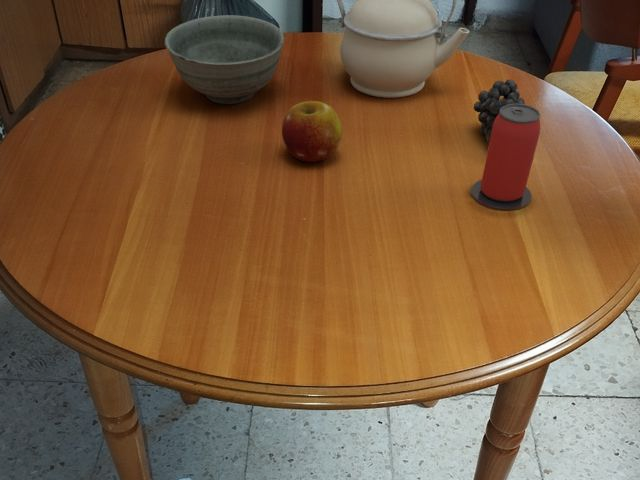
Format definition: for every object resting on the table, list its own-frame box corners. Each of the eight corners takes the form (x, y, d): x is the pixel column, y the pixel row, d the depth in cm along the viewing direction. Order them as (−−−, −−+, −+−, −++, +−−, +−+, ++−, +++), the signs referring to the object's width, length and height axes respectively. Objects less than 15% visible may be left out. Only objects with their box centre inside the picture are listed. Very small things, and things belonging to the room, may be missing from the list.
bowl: (280, 69, 133) (278, 13, 126) (291, 116, 119) (289, 55, 112) (173, 74, 131) (165, 16, 124) (172, 122, 117) (163, 60, 110)
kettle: (316, 91, 126) (317, -70, 108) (350, 57, 138) (357, -94, 119) (446, 115, 120) (471, -52, 102) (470, 77, 132) (497, -79, 113)
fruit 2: (533, 107, 101) (519, 66, 111) (477, 123, 104) (468, 81, 113) (537, 160, 108) (524, 116, 117) (485, 173, 110) (476, 129, 120)
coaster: (525, 180, 105) (525, 178, 105) (535, 211, 99) (536, 208, 99) (467, 179, 105) (467, 176, 105) (474, 210, 99) (475, 207, 99)
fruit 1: (271, 160, 108) (269, 110, 103) (299, 137, 114) (298, 88, 108) (324, 175, 106) (325, 123, 100) (350, 150, 111) (352, 101, 105)
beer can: (513, 179, 104) (532, 100, 96) (531, 201, 100) (552, 120, 91) (473, 183, 103) (488, 103, 95) (489, 206, 99) (507, 124, 90)
